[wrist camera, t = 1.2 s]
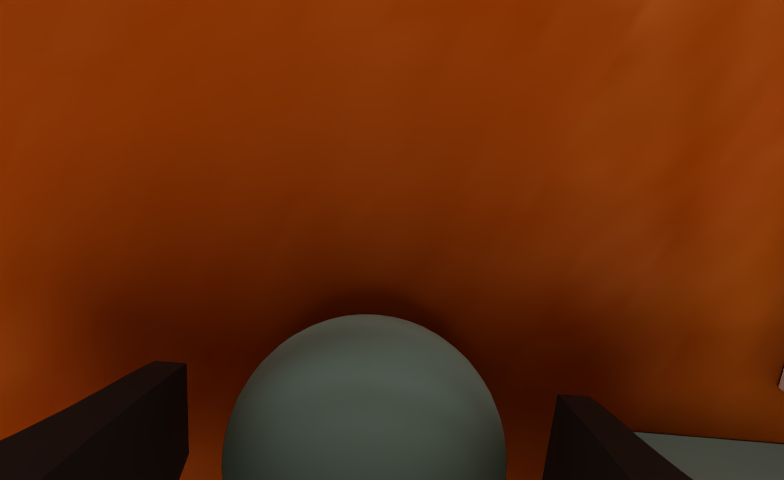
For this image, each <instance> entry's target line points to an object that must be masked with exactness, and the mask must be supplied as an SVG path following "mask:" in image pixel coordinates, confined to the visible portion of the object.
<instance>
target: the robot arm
mask: <svg viewBox="0 0 784 480" xmlns="http://www.w3.org/2000/svg"><path fill="white" fill-rule="evenodd" d="M188 454H189V444H188V404H187V365H186V364H185V363H173V362H160V361H154V362H152V363H150V364H148V365H145V366H143V367H141V368H140V369H138V370H136V371H134V372H132V373H130V374H128V375H126V376H125V377H123V378H121V379H119V380H117V381H116V382H114V383H112V384H110V385H108V386H107V387H105V388H103V389H101V390H99V391H98V392H96V393H94V394H92V395H90V396H88V397H87V398H85V399H83V400H81V401H79V402H77V403H76V404H74V405H72V406H70V407H68V408H66V409H64V410H62V411H60V412H58V413H56V414H54V415H52V416H50V417H48V418H46V419H44V420H42V421H40V422H38V423H36V424H34V425H32V426H30V427H28V428H26V429H24V430H22V431H20V432H18V433H16V434H14V435H12V436H9V437H7V438H5V439H3V440H1V441H0V480H179V478H180V476H181V473H182V470H183V468H184V465H185V462H186V460H187V457H188ZM542 480H693V479H692V478H690V477H689V476H688V475H686V474H685V473H684V472H682V471H681V470H680V469H678V468H677V467H676V466H675V465H673V464H672V463H671V462H669V461H668V460H667V459H666V458H664V457H663V456H662V455H661V454H659V453H658V452H657V451H656V450H654V449H653V448H652V447H651V446H649V445H648V444H647V443H646V442H645V441H643V440H642V439H641V438H640V437H639V436H637V435H636V434H635V433H634V432H633V431H631V430H630V429H629V428H628V427H627V426H625V425H624V424H623V423H622V422H621V421H619V420H618V419H617V418H616V417H615V416H613V415H612V414H611V413H610V412H609V411H607V410H606V409H605V408H604V407H602V406H601V405H600V404H599V403H597V402H596V401H595V400H593V399H592V398H590V397H586V396H573V395H561V394H558V395H557V401H556V406H555V412H554V417H553V423H552V428H551V434H550V439H549V445H548V451H547V456H546V462H545V467H544V473H543V478H542Z"/></svg>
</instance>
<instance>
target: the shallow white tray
mask: <svg viewBox="0 0 784 480" xmlns="http://www.w3.org/2000/svg"><path fill="white" fill-rule="evenodd" d="M779 388H780V389H781V390H782V391H783V392H784V370H783V373H782V377H781V380H780V383H779Z"/></svg>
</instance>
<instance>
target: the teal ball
mask: <svg viewBox="0 0 784 480" xmlns="http://www.w3.org/2000/svg"><path fill="white" fill-rule="evenodd" d="M506 469H507V455H506V444H505V436H504V431H503V427H502V423H501V418H500V416H499V413H498V410H497V408H496V405H495V403H494V400H493V398H492V395H491V393H490V391H489V389H488V388H487V386H486V384H485V383H484V381H483V379H482V378H481V376H480V375H479V373H478V372H477V371H476V369H475V368H474V367H473V366H472V364H471V363H470V362H469V361H468V359H467V358H466V357H465V356H464V355H462V354H461V353H460V352H459V351H458V350H457V349H456V348H455V347H454V346H452V345H451V344H450V343H448V342H447V341H446V340H444V339H443V338H442V337H440V336H439V335H437V334H436V333H434V332H432V331H430V330H428V329H427V328H425V327H423V326H420V325H418V324H415V323H413V322H410V321H407V320H403V319H400V318H396V317H391V316H384V315H373V314H358V315H348V316H342V317H337V318H333V319H329V320H326V321H323V322H320V323H318V324H315V325H313V326H310V327H308V328H306V329H305V330H303V331H301V332H299V333H297V334H295V335H293V336H292V337H290V338H289V339H287V340H286V341H285V342H283V343H282V344H280V345H279V346H278V347H277V348H276V349H275V350H274V351H273V352H272V353H271V354H269V355H268V356H267V357H266V358H265V359H264V360H263V361H262V362H261V364H260V365H259V366H258V367H257V368H256V370H255V371H254V372H253V373H252V375H251V376H250V378H249V379H248V381H247V383H246V384H245V386H244V388H243V389H242V391H241V393H240V394H239V396H238V398H237V401H236V403H235V406H234V408H233V411H232V413H231V416H230V419H229V422H228V425H227V430H226V434H225V438H224V445H223V454H222V479H223V480H506Z"/></svg>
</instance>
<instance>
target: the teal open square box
mask: <svg viewBox="0 0 784 480" xmlns="http://www.w3.org/2000/svg"><path fill="white" fill-rule="evenodd" d="M634 433H635V434H636V435H637V436H639V437H640V438H641V439H642V440H643V441H645V442H646V443H647V444H648V445H649V446H651V447H652V448H653V449H654V450H656V451H657V452H658V453H659V454H661V455H662V456H663V457H664V458H666V459H667V460H668V461H669V462H671V463H672V464H673V465H675V466H676V467H677V468H678V469H680V470H681V471H682V472H684V473H685V474H686V475H688V476H689V477H690V478H692V479H693V480H784V444H773V443H761V442H749V441H737V440H725V439H713V438H701V437H689V436H677V435H664V434H652V433H640V432H634Z"/></svg>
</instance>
